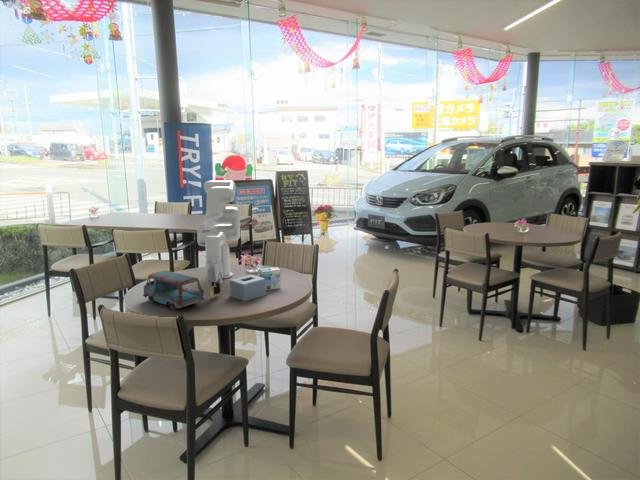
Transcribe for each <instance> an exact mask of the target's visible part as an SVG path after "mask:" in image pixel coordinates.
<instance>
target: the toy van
mask: <svg viewBox="0 0 640 480" xmlns="http://www.w3.org/2000/svg"><path fill="white" fill-rule="evenodd" d="M151 279H152V281H151ZM192 283H197V286H198V290H194V289H188V287H185V285H188V284H189V285H190V284H192ZM183 286H184V287H183ZM204 292H205V290H204V289H203V288H202V286H201V283H200V280H199V279H198V278H197V277H193V276H189V275H187V274H186V275H185V274H182V273H179V272H174V271H170V270H169V271H168V270H160V271H156V272H153V273H151V274H149V275H148V276H147V281H146V283H145V284H144V285H143V294H142V296H143V297H144V298H147V297H148V298H147V299H148V302H150V304H154V303H156V302H157V303H158V304H159V303H160V304H161V305H166V306H167V305H169V307H170V310H172V311H177V310H178V309H182V308H184V307H188V306H190V305H194V304H197V303H200V302H202V301H205V300H206V297H204V294H205V293H204Z"/></svg>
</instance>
